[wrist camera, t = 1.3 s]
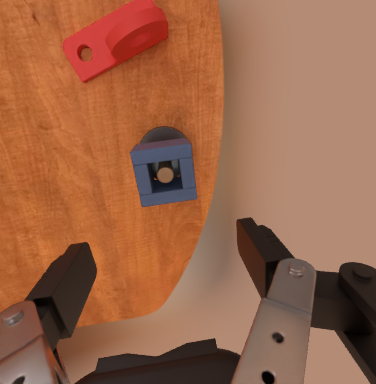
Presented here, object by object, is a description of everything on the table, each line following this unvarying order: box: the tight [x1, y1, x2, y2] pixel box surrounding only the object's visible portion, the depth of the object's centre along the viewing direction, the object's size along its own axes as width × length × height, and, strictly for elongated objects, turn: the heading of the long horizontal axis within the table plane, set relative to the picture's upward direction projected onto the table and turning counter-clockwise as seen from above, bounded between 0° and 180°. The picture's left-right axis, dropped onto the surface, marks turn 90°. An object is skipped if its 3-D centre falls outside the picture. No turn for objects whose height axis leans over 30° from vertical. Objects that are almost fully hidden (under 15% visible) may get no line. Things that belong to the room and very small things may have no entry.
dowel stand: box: [140, 126, 186, 183], centre depth 27 cm, size 8×8×12 cm
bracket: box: [63, 0, 168, 83], centre depth 23 cm, size 12×4×8 cm, turn 116°
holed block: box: [130, 138, 197, 207], centre depth 23 cm, size 6×6×4 cm
